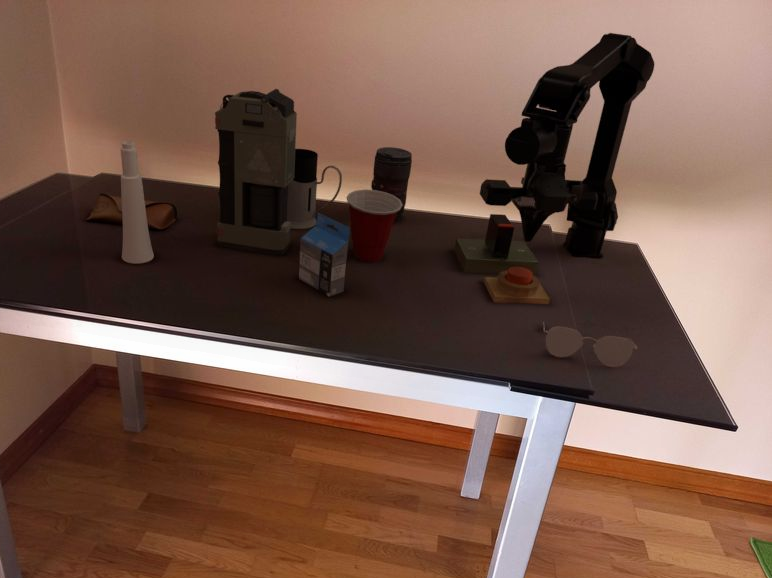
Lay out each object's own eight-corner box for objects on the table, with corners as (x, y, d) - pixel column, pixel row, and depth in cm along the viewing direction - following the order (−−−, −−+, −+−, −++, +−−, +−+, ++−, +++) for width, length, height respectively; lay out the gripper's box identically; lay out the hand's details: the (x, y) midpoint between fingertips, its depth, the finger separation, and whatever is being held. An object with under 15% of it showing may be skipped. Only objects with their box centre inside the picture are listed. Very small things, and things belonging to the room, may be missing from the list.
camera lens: (392, 227, 153) (400, 159, 145) (362, 217, 157) (368, 151, 149) (410, 217, 159) (419, 152, 151) (381, 208, 163) (387, 144, 155)
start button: (526, 275, 129) (528, 267, 128) (533, 286, 125) (535, 277, 124) (503, 274, 129) (505, 266, 128) (509, 285, 125) (511, 276, 124)
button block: (535, 284, 132) (539, 270, 130) (548, 304, 125) (552, 289, 123) (483, 282, 132) (486, 268, 130) (493, 302, 125) (496, 287, 123)
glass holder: (288, 211, 158) (291, 145, 150) (345, 224, 153) (351, 156, 145) (270, 223, 152) (271, 155, 144) (329, 237, 147) (334, 167, 139)
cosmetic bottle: (145, 248, 137) (136, 136, 125) (159, 259, 133) (151, 144, 121) (116, 255, 134) (104, 140, 122) (129, 266, 130) (118, 149, 118)
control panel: (520, 253, 144) (523, 239, 143) (535, 277, 135) (539, 262, 133) (453, 250, 144) (455, 236, 142) (464, 274, 134) (467, 259, 133)
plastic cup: (367, 272, 133) (374, 212, 126) (330, 253, 140) (334, 195, 133) (406, 259, 139) (414, 201, 133) (369, 241, 146) (375, 185, 139)
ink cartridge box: (297, 279, 129) (300, 216, 122) (313, 274, 131) (317, 211, 125) (328, 297, 123) (333, 232, 117) (345, 292, 125) (350, 227, 119)
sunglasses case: (82, 219, 147) (87, 188, 147) (97, 225, 154) (102, 195, 154) (163, 230, 144) (167, 198, 144) (174, 235, 151) (179, 205, 151)
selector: (484, 242, 141) (490, 212, 137) (499, 242, 141) (505, 213, 137) (492, 256, 135) (499, 226, 131) (508, 257, 135) (514, 226, 131)
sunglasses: (538, 353, 110) (545, 324, 108) (537, 335, 118) (544, 308, 116) (631, 370, 107) (640, 341, 105) (624, 351, 115) (632, 323, 113)
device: (293, 243, 143) (299, 91, 127) (282, 258, 136) (287, 99, 121) (228, 233, 146) (227, 83, 130) (215, 247, 139) (211, 91, 124)
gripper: (504, 165, 108) (485, 257, 116) (622, 170, 108) (595, 262, 117) (487, 145, 117) (471, 232, 125) (596, 150, 118) (573, 236, 126)
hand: (527, 241), depth 123 cm, fingers closed
